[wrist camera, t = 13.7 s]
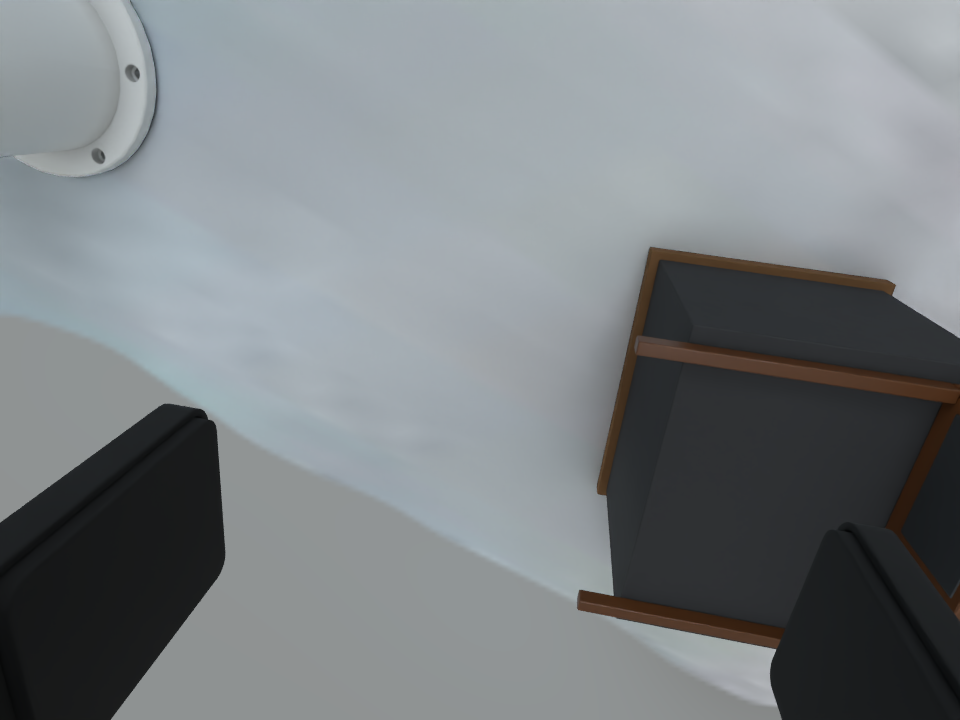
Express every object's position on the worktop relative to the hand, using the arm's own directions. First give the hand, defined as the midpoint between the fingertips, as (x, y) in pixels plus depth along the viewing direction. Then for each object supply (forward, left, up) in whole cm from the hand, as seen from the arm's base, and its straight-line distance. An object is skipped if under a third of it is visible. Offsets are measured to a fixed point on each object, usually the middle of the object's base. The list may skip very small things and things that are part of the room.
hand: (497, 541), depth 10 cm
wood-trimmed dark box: (+12, -9, -28) cm, 32 cm away
